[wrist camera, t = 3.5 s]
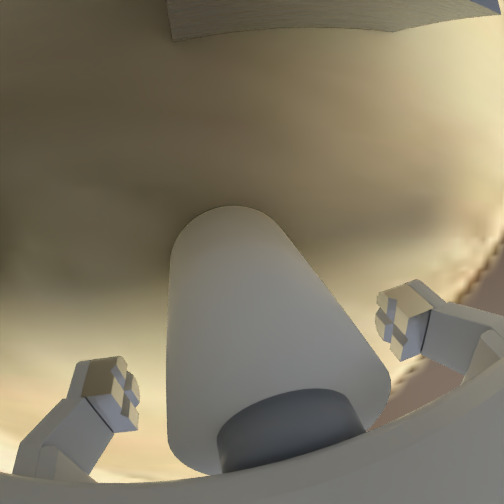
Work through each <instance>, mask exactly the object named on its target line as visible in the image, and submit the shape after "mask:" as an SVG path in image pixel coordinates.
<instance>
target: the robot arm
mask: <svg viewBox="0 0 504 504" xmlns="http://www.w3.org/2000/svg"><path fill="white" fill-rule="evenodd" d="M377 304H378V306H379V307H380V308H379V310H378V311H377V313H376V316H375V324H376V328H377V331H378V333H379V336H380V337H381V338H382V340H383V341H386V342H389V343H391V344H390V350H391V351H392V352H393V354H394V355H395V356H396V357H397V359H398V360H399V361H400V362H401V361H404V360H406V359H408V358H411V357H413V356H416V355H418V354H420V353H421V355H423V356H425V357H427V358H429V359H431V360H434V361H436V362H438V363H440V364H442V365H444V366H446V367H448V368H450V369H452V370H454V371H456V372H459V373H460V374H463V375H465V376H464V379H463V381H462V383H461V385H460V386H458V387H457V388H455V389H453V390H452V391H450V392H448V393H446V394H445V395H443V396H441V397H439V398H437V399H435V400H434V401H432V402H430V403H428V404H426V405H424V406H422V407H421V408H418V409H416V410H415V411H413V412H410V413H408V414H406V415H404V416H402V417H400V418H398V419H396V420H394V421H391V422H389V423H387V424H385V425H383V426H380V427H378V428H375V429H373V430H371V431H368V432H366V433H363V434H361V435H358V436H356V437H353V438H351V439H348V440H345V441H343V442H340V443H337V444H334V445H331V446H328V447H325V448H322V449H319V450H316V451H313V452H310V453H307V454H304V455H300V456H297V457H293V458H290V459H286V460H282V461H279V462H275V463H271V464H267V465H263V466H258V467H254V468H249V469H244V470H240V471H234V472H229V473H224V474H218V475H211V476H205V477H198V478H190V479H181V480H171V481H159V482H143V483H98V482H96V481H95V480H94V479H92V478H91V477H90V476H89V474H90V472H91V471H92V469H93V467H94V466H95V464H96V463H97V461H98V459H99V458H100V456H101V455H102V453H103V451H104V450H105V448H106V447H107V445H108V443H109V442H110V440H111V439H112V437H113V435H114V433H119V432H128V431H136V430H138V419H139V413H138V411H137V410H136V409H135V408H136V406H137V405H138V404H139V403H140V392H139V386H138V384H137V381H136V379H135V377H134V375H133V374H131V373H130V372H128V371H127V363H126V361H125V360H124V358H123V357H121V356H115V357H108V358H100V359H93V360H85V361H79V362H78V363H77V364H76V367H75V370H74V374H73V377H72V380H71V384H70V387H69V391H68V394H67V398H66V399H62V400H61V401H60V402H59V403H58V404H57V405H56V406H55V407H54V408H53V409H52V410H51V411H50V412H49V413H48V414H47V415H46V416H45V417H44V418H43V419H42V421H41V422H40V423H39V424H38V425H37V426H36V427H35V428H34V429H33V430H32V431H31V432H30V433H29V434H28V435H27V436H26V437H25V438H24V439H23V440H22V442H21V443H20V445H19V449H18V452H17V456H16V460H15V464H14V468H13V473H12V474H8V473H3V472H0V504H504V316H500V315H497V314H493V313H489V312H486V311H482V310H479V309H475V308H471V307H468V306H464V305H460V304H457V303H453V302H448V303H446V302H445V301H444V300H443V299H441V298H440V297H439V296H438V295H437V294H436V293H435V292H433V291H432V290H431V289H430V288H429V287H427V286H426V285H425V284H424V283H423V282H422V281H420V280H417V279H415V280H413V281H410V282H407V283H405V284H403V285H400V286H397V287H394V288H391V289H388V290H385V291H382V292H379V294H378V296H377Z"/></svg>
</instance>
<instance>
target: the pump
mask: <svg viewBox="0 0 504 504" xmlns="http://www.w3.org/2000/svg"><path fill="white" fill-rule="evenodd" d="M390 390H391V379H390V375H389V372H388V371H387V369H386V367H385V366H384V364H383V363H382V362H381V360H380V359H379V357H378V356H377V355H376V353H375V352H374V350H373V349H372V348H371V346H370V345H369V344H368V342H367V341H366V339H365V338H364V337H363V335H362V334H361V333H360V331H359V330H358V328H357V327H356V326H355V324H354V323H353V322H352V320H351V319H350V318H349V316H348V315H347V314H346V312H345V311H344V310H343V308H342V307H341V306H340V304H339V303H338V302H337V300H336V299H335V298H334V296H333V295H332V294H331V292H330V291H329V290H328V288H327V287H326V286H325V284H324V283H323V282H322V280H321V279H320V278H319V276H318V275H317V274H316V273H315V271H314V270H313V269H312V267H311V266H310V265H309V263H308V262H307V261H306V260H305V258H304V257H303V256H302V254H301V253H300V252H299V251H298V249H297V248H296V247H295V245H294V244H293V243H292V242H291V240H290V239H289V238H288V237H287V235H286V234H285V233H284V231H283V230H282V229H281V228H280V226H279V225H278V224H277V223H276V222H275V221H274V220H273V219H272V218H270V217H269V216H268V215H266V214H264V213H262V212H261V211H258V210H256V209H253V208H249V207H245V206H223V207H218V208H215V209H211V210H209V211H207V212H204V213H202V214H201V215H199V216H197V217H196V218H194V219H193V220H192V221H191V222H189V223H188V224H187V225H186V226H185V227H184V228H183V230H182V231H181V232H180V234H179V235H178V237H177V239H176V241H175V243H174V246H173V248H172V252H171V257H170V272H169V289H168V311H167V345H166V403H167V435H168V443H169V446H170V449H171V451H172V452H173V454H174V455H175V456H176V457H177V458H178V459H179V460H180V461H181V462H182V463H184V464H185V465H186V466H188V467H190V468H192V469H194V470H196V471H198V472H201V473H204V474H207V475H218V474H224V473H229V472H234V471H240V470H244V469H249V468H254V467H258V466H263V465H267V464H271V463H275V462H279V461H282V460H286V459H290V458H293V457H297V456H300V455H304V454H307V453H310V452H313V451H316V450H319V449H322V448H325V447H328V446H331V445H334V444H337V443H340V442H343V441H345V440H348V439H351V438H353V437H356V436H358V435H361V434H363V433H366V431H367V430H368V429H369V428H370V427H371V426H372V425H373V423H374V422H375V421H376V420H377V419H378V417H379V416H380V414H381V413H382V411H383V409H384V408H385V406H386V404H387V401H388V398H389V396H390Z"/></svg>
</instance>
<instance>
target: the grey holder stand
mask: <svg viewBox="0 0 504 504" xmlns="http://www.w3.org/2000/svg"><path fill="white" fill-rule="evenodd" d="M166 4H167V10H168V16H169V22H170V27H171V33H172V39H173V42H176V41H181V40H186V39H191V38H196V37H202V36H208V35H215V34H221V33H229V32H237V31H246V30H257V29H271V28H291V27H334V28H354V29H368V30H378V31H387V32H396V31H400V30H404V29H408V28H413V27H417V26H422V25H427V24H433V23H438V22H444V21H450V20H457V19H464V18H471V17H480V16H491V15H501V12H500V8H499V4H498V0H166Z"/></svg>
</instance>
